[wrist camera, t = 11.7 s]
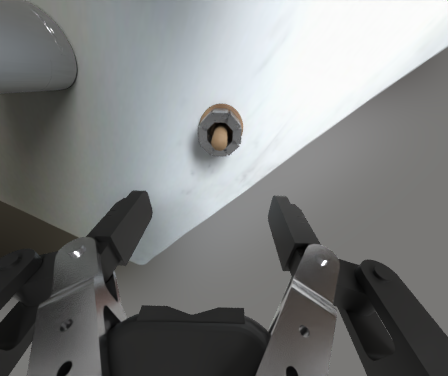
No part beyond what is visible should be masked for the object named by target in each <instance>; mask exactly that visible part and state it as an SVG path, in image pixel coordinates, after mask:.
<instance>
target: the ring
mask: <svg viewBox="0 0 448 376" xmlns="http://www.w3.org/2000/svg"><path fill="white" fill-rule="evenodd" d="M214 122H220V123H226V124H227V125H228V126H229V127H230V128H231V129H232V134H231V135H230V136H229V137H228V138H227V146H226V148H225V149H224V150H222V151H217V150H215V149H214V148H213V147H212V144H211V141H212V137H213V136H212V135H211V134H210V126H211V125H212V124H213V123H214ZM198 134H199V143H201V144H200V145H201V146H202V147H203V148H204V149H205V150H206V151H207V152H208V153H209V154H210V155H211V154H212V153H213V156H226V155H227V154H228V155H230V154H231V153H232V152H233V151H235V150H236V149H237V148H238V147H239V144H241V134H242V128H241V124H240V121H239V119H238V118H237V117H236V116H235V114H234V113H233V112H232V111H231V110H230V111H229V112H228V108H214V110H213V109H212V110H211V111H210V112H209V113H208V114H207V115H206V116H205V117H204V118H203V119H202V121H201V123H200V124H199V127H198Z"/></svg>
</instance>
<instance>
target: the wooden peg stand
mask: <svg viewBox="0 0 448 376" xmlns="http://www.w3.org/2000/svg"><path fill="white" fill-rule="evenodd" d="M214 108H228V112H229V111H230V110H231V111H232V112H233V113H234V114H235V116H236V117H237V118H238V119H239V121H240V124H241V128H242V132H243V123H242V119H241V117H240V115H239V113H238V112H237V110H236V109H234V108H233V107H232V106H230V105H227V104H216V105H213V106H211V107H209V108H208V109H207V110H206V111H205V112H204V114H203V115H202V117H201V120H200V123H201V121H202V119H203V118H204V117H205V116H206V115H207V114H208V113H209V112H210V111H211V110H212V109H213V110H214ZM210 134H211V135H212V136H213V137H212V141H211V144H212V147H213V148H214V149H215V150H217V151H222V150H224V149H225V148H226V146H227V138H228V137H229V136H230V135H231V134H232V129H231V128H230V127H229V126H228V125H227V124H226V123H220V122H214V123H213V124H212V125H211V126H210ZM241 136H242V134H241Z"/></svg>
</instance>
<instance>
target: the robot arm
mask: <svg viewBox="0 0 448 376" xmlns="http://www.w3.org/2000/svg"><path fill="white" fill-rule="evenodd" d="M76 73H77V66H76V60H75V55H74V53H73V50H72V48H71V45H70V43H69V41H68V40H67V38H66V36H65V34H64V33H63V32H62V30H61V29H60V28H59V26H58V25H57V24H56V23H55V22H54V21H53V20H52V19H51V18H50V17H49V16H48V15H47V14H46V13H45V12H43V11H42V10H41V9H40V8H38V7H36V6H35V5H33V4H31V3H29V2H26V1H24V0H0V94H5V93H20V92H37V91H52V90H63V89H66V88H68V87H70V86H71V85H72V84H73V82H74V80H75V78H76ZM152 213H153V212H152V207H151V203H150V200H149V196H148V193H147V192H146V191H132V192H131V193H130V194H129V195H128V196H127V197H126V198H123V199H122V200H120V201H119V202H117V203H116V204H115V205H114V206H113V207H112V208H111V209H110V211H108V213H107V214H106V215H105V216H104V217H103V218H102V219H101V220H100V222H99V223H98V224H97V225H96V226H95V227H94V228H93V230H92V231H91V232H90V233H89V234H88V235H87V236H86V237H82V238H78V239H75V240H73V241H71V242H69V243H68V244H66V245H65V246H63V247H62V248H61V249H60V250H59V251H57V252H52V253H48V254H43V255H38V254H37V253H36V252H35V251H34V250H32V249H21V250H17V251H14V252H12V253H9V254H7V255H5V256H3V257H2V258H0V310H1V309H2V307H3V306H4V305H5V304H6V303H7V302H8V301H9V300H10V299H11V297H14V298H15V299H17V300H18V301H19V302H18V303H17V304H16V305H15V306H14V308H13V309H12V310H11V311H10V312H9V313H8V314H7V316H6V317H5V318H4V319H3V320H2V321H1V322H0V376H8V375H9V374H10V372H11V371H12V370H13V368H14V367H15V365H16V364H17V362H18V361H19V360H20V358H21V357H22V355H23V354H24V352H25V351H26V349H27V348H28V346H29V345H30V344H31V342H32V346H31V352H30V358H29V364H28V371H27V376H328V370H329V363H330V357H331V351H332V345H333V339H334V332H335V325H336V318H337V311H336V309H335V308H333V305H334V306H337V307H338V309H339V312H340V314H341V316H342V318H343V321H344V323H345V325H346V328H347V330H348V332H349V335H350V337H351V339H352V341H353V344H354V346H355V348H356V351H357V353H358V355H359V358H360V360H361V362H362V364H363V367H364V369H365V371H366V374H367V376H448V337H447V335H446V334H445V333H444V332H443V331H442V329H441V328H440V327H439V326H438V324H437V323H436V322H435V321H434V319H433V318H432V317H431V316H430V315H429V313H428V312H427V311H426V310H425V308H424V307H423V306H422V305H421V304H420V303H419V301H418V300H417V299H416V297H415V296H414V295H413V294H412V292H411V291H410V290H409V289H408V288H407V286H406V285H405V284H404V283H403V282H402V280H401V279H400V278H399V276H398V275H397V274H396V273H395V272H393V271H392V270H391V269H390V268H389V267H387V266H385V265H384V264H382V263H379V262H377V261H374V260H364V261H363V262H362V263H361V264H360V265H357V264H353V263H350V262H347V261H343V260H341V259H338V258H337V256H336V255H335V254H334V253H333V252H332V251H331V250H330V249H328V248H327V247H325V246H322V245H321V244H320V242H319V241H318V239H317V237H316V235H315V234H314V232H313V230H312V228H311V227H310V225H309V224H308V221H307V220H306V218H305V216H304V214H303V213H302V211H301V210H300V209H299V208H298V207H297V206H296V205H295V204H290V202H289V200H288V198H287V197H286V196H273V198H272V202H271V206H270V210H269V214H268V222H269V225H270V229H271V232H272V236H273V239H274V243H275V245H276V249H277V252H278V256H279V260H280V263H281V266H282V270H283V271H290V273H291V275H292V277H291V279H290V281H289V284H288V286H287V288H286V291H285V293H284V296H283V298H282V300H281V303H280V305H279V307H278V310H277V312H276V314H275V316H274V319H273V320H272V322H271V325H270V327H269V329H268V331H267V330H266V329H265V328H264V327H263V326H261V325H260V324H259V323H258V322H256V321H255V320H253V319H251V318H249V317H246V316H244V308H216V309H212V310H209V311H205V312H202V313H198V314H194V315H190V314H187V313H184V312H182V311H179V310H176V309H174V308H171V307H168V306H142V307H141V310H140V312H139V314H137V315H134V316H132V317H129V318H128V319H127V318H126V315H125V312H124V310H123V308H122V304H121V299H120V294H119V289H118V284H117V279H116V274H115V271H114V270H115V268H116V267H117V265H124V266H126V265H127V263H128V261H129V259H130V257H131V256H132V254H133V252H134V250H135V248H136V246H137V244H138V243H139V241H140V239H141V237H142V235H143V233H144V231H145V229H146V228H147V226H148V224H149V222H150V220H151V218H152ZM376 312H377V313H376ZM377 314H378V315H379V317H380V318H379V317H378V315H377ZM380 319H381V320H382V322H383V323H382V322H381V320H380ZM383 324H384V325H383ZM384 326H385V327H386V328H385V327H384ZM386 329H387V330H388V332H389V333H388V332H387V330H386ZM389 334H390V335H389ZM390 336H391V337H392V339H393V340H392V339H391V337H390Z"/></svg>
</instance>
